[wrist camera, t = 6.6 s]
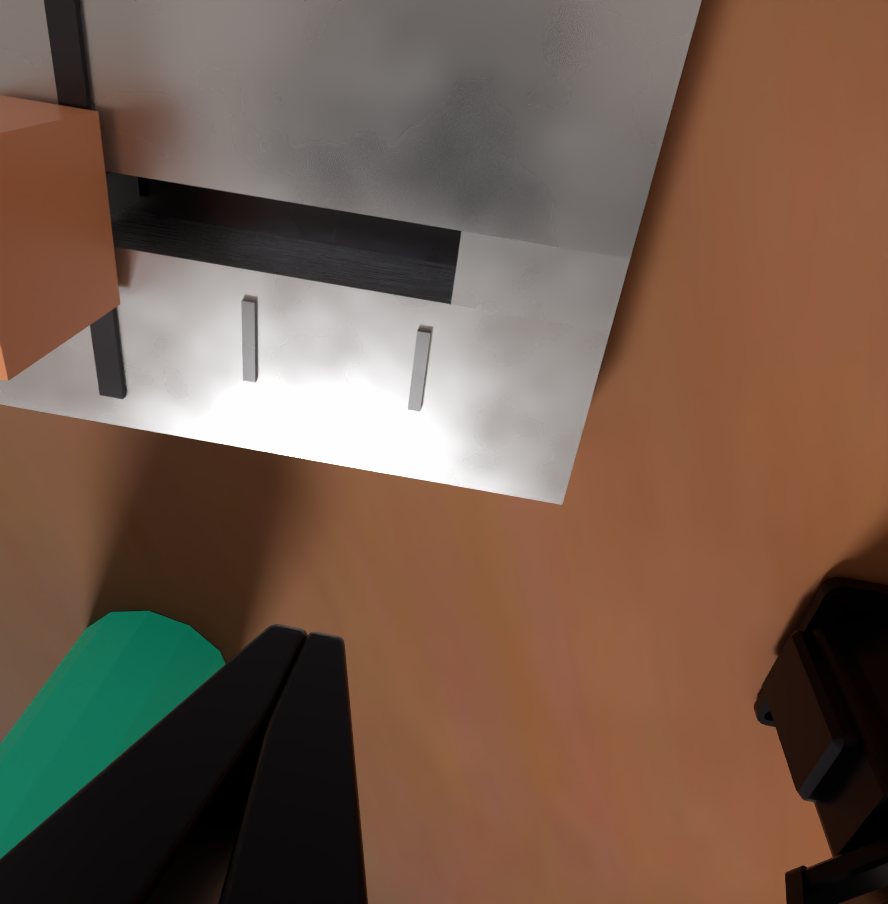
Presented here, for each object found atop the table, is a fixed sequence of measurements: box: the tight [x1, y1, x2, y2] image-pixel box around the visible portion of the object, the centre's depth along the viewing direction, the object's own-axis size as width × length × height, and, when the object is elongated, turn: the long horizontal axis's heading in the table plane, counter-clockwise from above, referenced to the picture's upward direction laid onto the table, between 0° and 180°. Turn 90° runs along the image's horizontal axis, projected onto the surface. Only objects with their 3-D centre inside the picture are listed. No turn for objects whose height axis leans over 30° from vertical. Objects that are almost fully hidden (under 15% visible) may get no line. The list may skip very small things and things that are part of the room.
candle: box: [0, 611, 225, 859], centre depth 23 cm, size 6×6×12 cm
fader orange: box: [0, 95, 140, 381], centre depth 15 cm, size 2×4×7 cm, turn 173°
